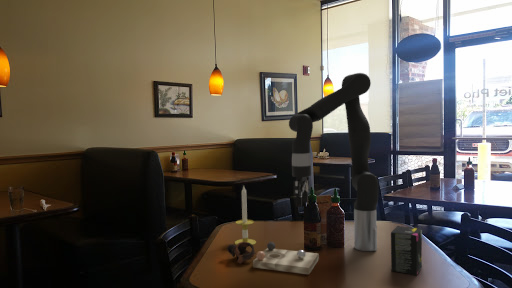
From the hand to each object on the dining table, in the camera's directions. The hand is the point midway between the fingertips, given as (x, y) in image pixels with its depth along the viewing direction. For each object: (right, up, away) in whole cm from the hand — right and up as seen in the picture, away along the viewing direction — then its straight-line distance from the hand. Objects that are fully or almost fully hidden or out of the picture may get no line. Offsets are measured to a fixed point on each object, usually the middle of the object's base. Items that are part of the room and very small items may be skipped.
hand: (302, 204), depth 157 cm
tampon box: (+38, -22, -12) cm, 45 cm away
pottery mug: (-25, -23, +2) cm, 34 cm away
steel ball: (-1, -19, -6) cm, 20 cm away
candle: (-24, -22, +24) cm, 40 cm away
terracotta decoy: (-17, -19, -6) cm, 26 cm away
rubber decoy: (-12, -18, +5) cm, 22 cm away
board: (-7, -23, -4) cm, 24 cm away
